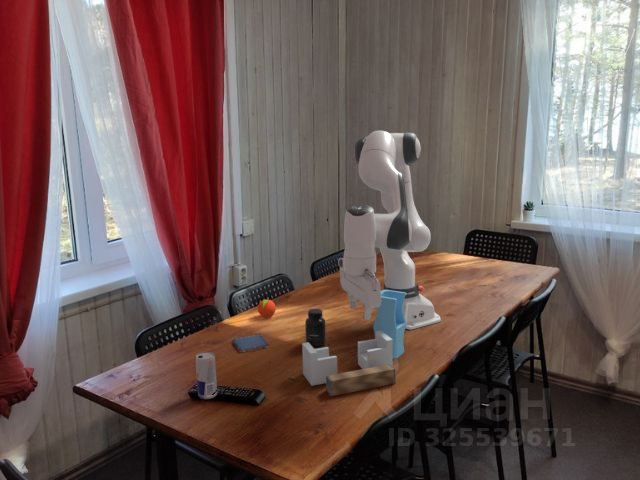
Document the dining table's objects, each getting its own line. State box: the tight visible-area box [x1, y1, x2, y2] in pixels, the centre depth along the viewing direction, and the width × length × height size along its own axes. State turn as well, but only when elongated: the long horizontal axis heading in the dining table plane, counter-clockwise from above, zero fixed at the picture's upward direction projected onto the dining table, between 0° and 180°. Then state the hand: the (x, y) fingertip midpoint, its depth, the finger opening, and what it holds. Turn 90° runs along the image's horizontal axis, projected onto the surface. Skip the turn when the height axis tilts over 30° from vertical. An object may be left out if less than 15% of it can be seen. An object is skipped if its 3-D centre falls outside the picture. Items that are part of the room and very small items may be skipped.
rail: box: [325, 364, 396, 397], centre depth 162 cm, size 20×4×4 cm, turn 110°
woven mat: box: [231, 333, 270, 354], centre depth 194 cm, size 10×11×2 cm
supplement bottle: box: [304, 308, 326, 349], centre depth 192 cm, size 7×7×12 cm
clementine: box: [257, 299, 277, 318], centre depth 219 cm, size 8×7×7 cm
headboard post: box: [357, 330, 394, 369], centre depth 174 cm, size 8×8×10 cm
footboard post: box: [301, 342, 338, 386], centre depth 168 cm, size 8×8×10 cm
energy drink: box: [195, 351, 218, 400], centre depth 159 cm, size 5×5×12 cm
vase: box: [372, 289, 406, 360], centre depth 183 cm, size 8×8×20 cm
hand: (360, 313), depth 158 cm, fingers open, 8 cm apart
